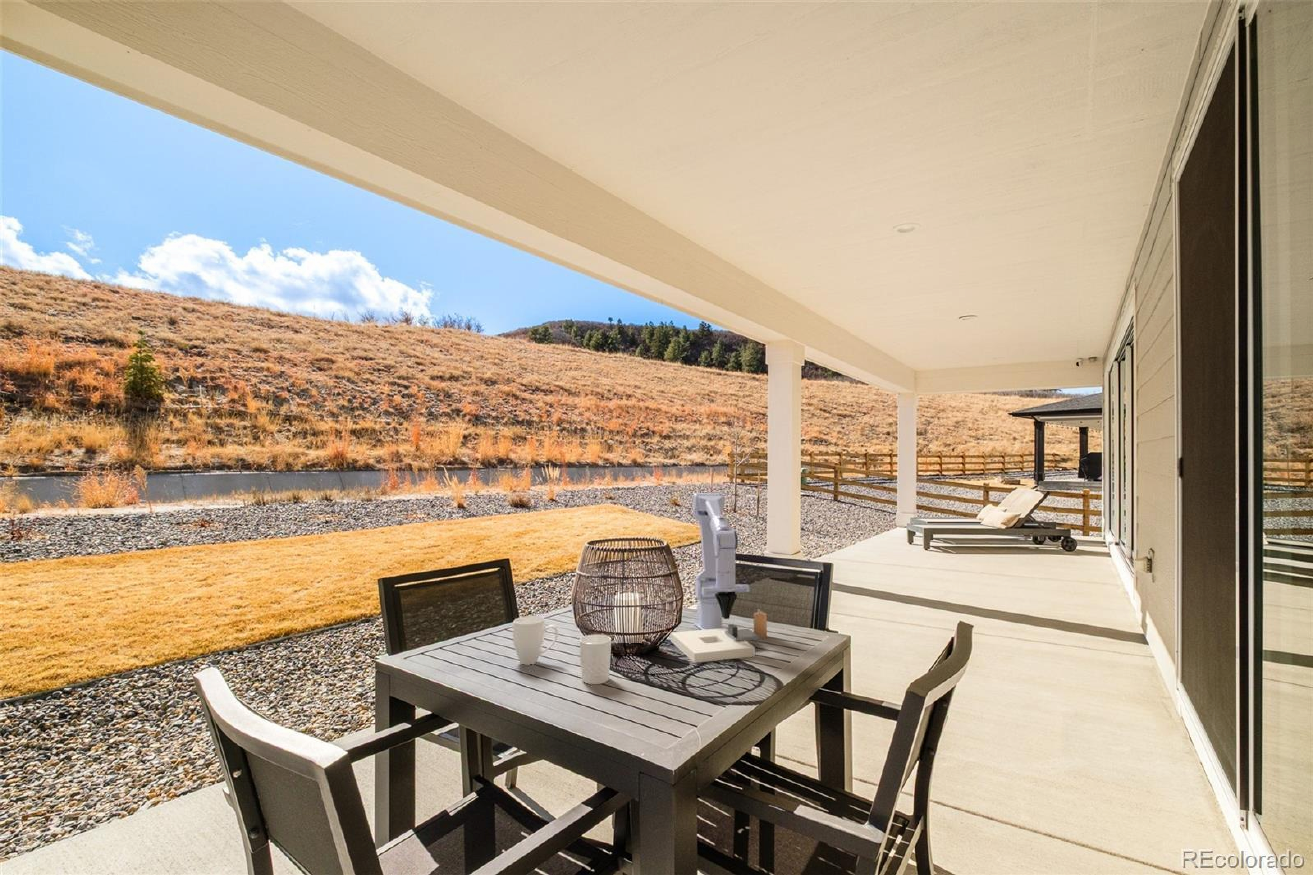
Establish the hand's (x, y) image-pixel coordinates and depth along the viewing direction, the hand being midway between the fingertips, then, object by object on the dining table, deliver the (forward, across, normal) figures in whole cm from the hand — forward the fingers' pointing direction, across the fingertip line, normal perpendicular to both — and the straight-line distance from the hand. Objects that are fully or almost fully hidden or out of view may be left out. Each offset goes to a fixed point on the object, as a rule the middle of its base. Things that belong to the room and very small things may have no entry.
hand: (725, 618), depth 174 cm
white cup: (+9, -42, -14) cm, 45 cm away
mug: (+9, -55, +3) cm, 55 cm away
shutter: (+6, +5, 0) cm, 8 cm away
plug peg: (+8, +14, +6) cm, 18 cm away
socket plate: (+8, -5, 0) cm, 10 cm away
